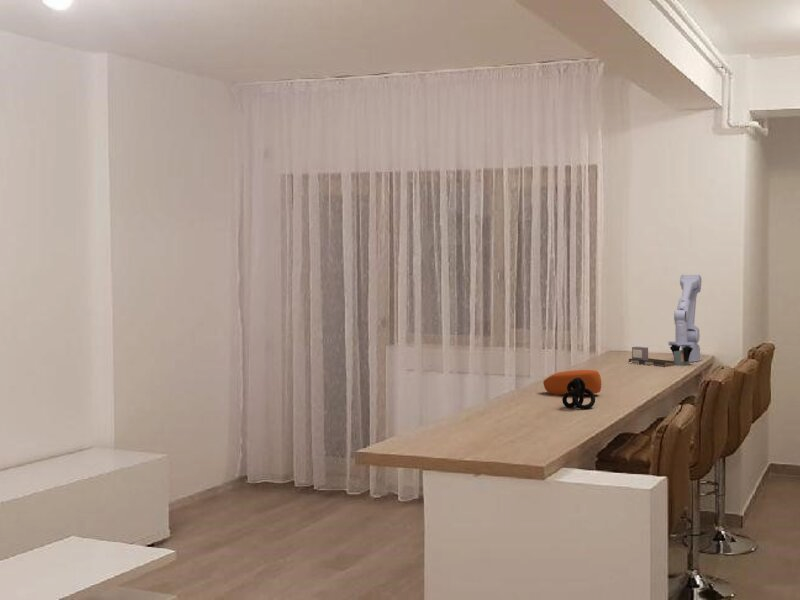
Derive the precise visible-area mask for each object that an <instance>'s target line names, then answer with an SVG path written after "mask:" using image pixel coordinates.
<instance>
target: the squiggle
mask: <svg viewBox="0 0 800 600" xmlns="http://www.w3.org/2000/svg"><path fill="white" fill-rule="evenodd" d="M580 386H581V387H580ZM585 386H586V385H585V383H584V381H583V380H582V379H581V378H579V377H577V378H575V379H573V380H572V381H570V382H569V383H568V385H567V391H568V393H565V394H564V395H562V400H561V401H562V404H563V405H564V407H566V408H568V409H572V408H573V407H576V408H578V409H580V410H589V409H591V408H592V407H594V405H595V403H596V396H595V394H593V393H592V391H590V390H589V389H586V388H585ZM571 387H572V388H573V389H571ZM584 393H587V394H588V395H587V396H589V397H590V402H589V403H587V404H583V403H584V399H585V394H584ZM570 396H572V398H571V401H572V402H571V403H569V402H568V397H570Z"/></svg>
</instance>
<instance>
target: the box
mask: <svg viewBox="0 0 800 600" xmlns="http://www.w3.org/2000/svg"><path fill="white" fill-rule="evenodd" d="M648 358H649V347H647V346H646V347H644V346H632V347H631V359H638V360H647V361H648Z"/></svg>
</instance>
